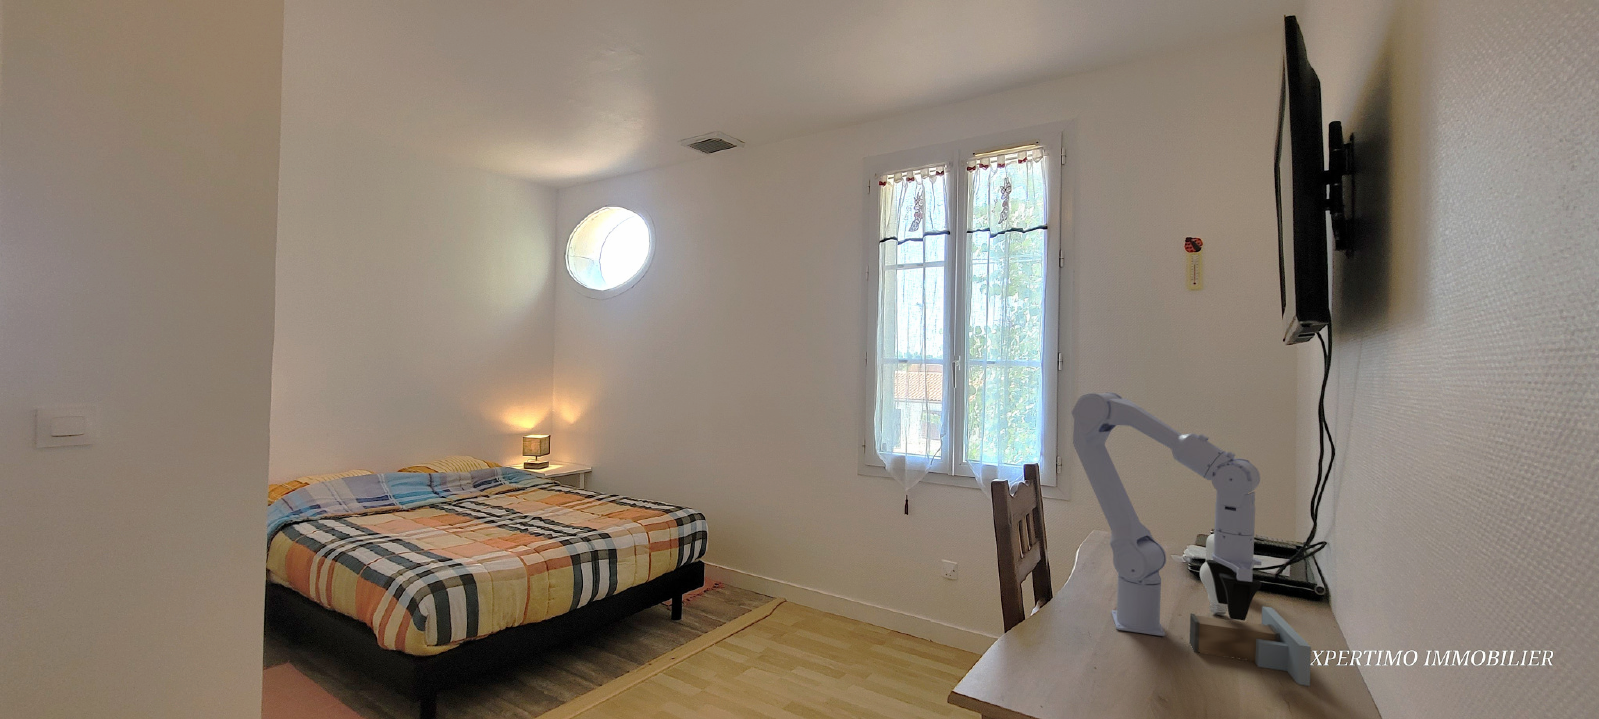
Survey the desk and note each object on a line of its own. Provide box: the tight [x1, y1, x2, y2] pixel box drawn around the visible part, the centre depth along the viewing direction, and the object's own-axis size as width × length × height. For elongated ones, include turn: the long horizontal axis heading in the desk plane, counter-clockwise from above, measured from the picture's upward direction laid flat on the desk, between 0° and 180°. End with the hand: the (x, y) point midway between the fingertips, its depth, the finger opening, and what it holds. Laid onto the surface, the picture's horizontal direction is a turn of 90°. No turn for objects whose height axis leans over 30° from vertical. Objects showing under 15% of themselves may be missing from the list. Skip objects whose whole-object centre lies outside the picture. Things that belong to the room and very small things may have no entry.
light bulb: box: [1199, 559, 1228, 616], centre depth 134 cm, size 7×7×11 cm
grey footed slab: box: [1254, 605, 1312, 687], centre depth 114 cm, size 18×6×6 cm, turn 161°
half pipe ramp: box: [1189, 613, 1280, 662], centre depth 116 cm, size 12×4×5 cm, turn 70°
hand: (1230, 611), depth 116 cm, fingers open, 7 cm apart
